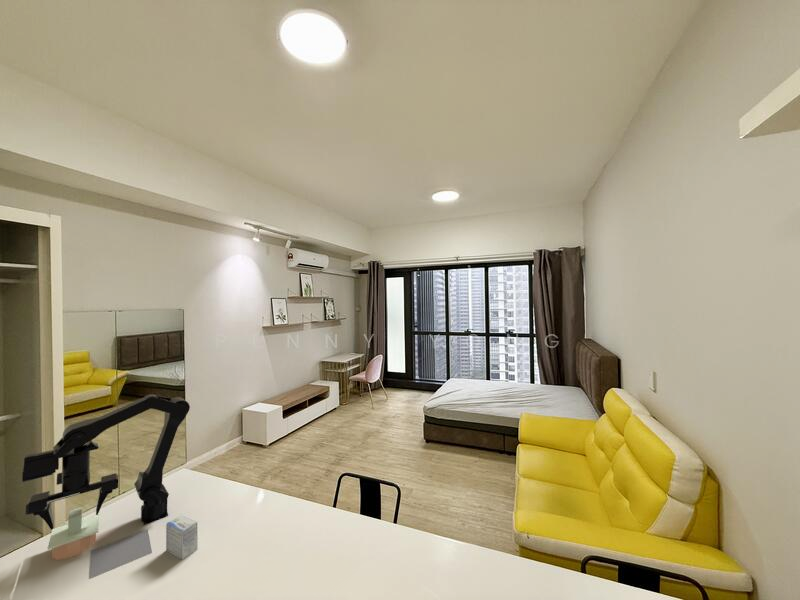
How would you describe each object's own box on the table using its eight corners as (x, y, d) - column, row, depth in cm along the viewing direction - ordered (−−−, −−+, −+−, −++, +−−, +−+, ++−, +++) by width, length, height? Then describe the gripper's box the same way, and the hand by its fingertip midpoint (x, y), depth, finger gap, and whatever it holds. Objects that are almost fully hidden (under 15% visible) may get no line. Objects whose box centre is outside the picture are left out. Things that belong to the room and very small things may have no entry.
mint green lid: (98, 515, 101) (99, 498, 101) (98, 532, 93) (98, 513, 93) (52, 530, 94) (52, 512, 94) (47, 550, 87) (47, 529, 87)
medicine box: (198, 550, 93) (198, 521, 93) (182, 562, 89) (182, 530, 89) (181, 542, 96) (181, 513, 97) (165, 552, 92) (165, 522, 93)
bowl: (96, 533, 100) (96, 517, 100) (95, 549, 93) (95, 532, 94) (54, 547, 94) (54, 530, 94) (50, 566, 87) (50, 548, 87)
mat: (147, 530, 101) (147, 529, 101) (152, 554, 92) (152, 552, 92) (90, 552, 92) (90, 550, 92) (89, 580, 83) (89, 579, 83)
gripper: (117, 449, 106) (117, 496, 106) (32, 468, 94) (32, 522, 93) (118, 461, 98) (117, 512, 98) (25, 484, 85) (24, 543, 85)
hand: (75, 521), depth 94 cm, fingers open, 9 cm apart
